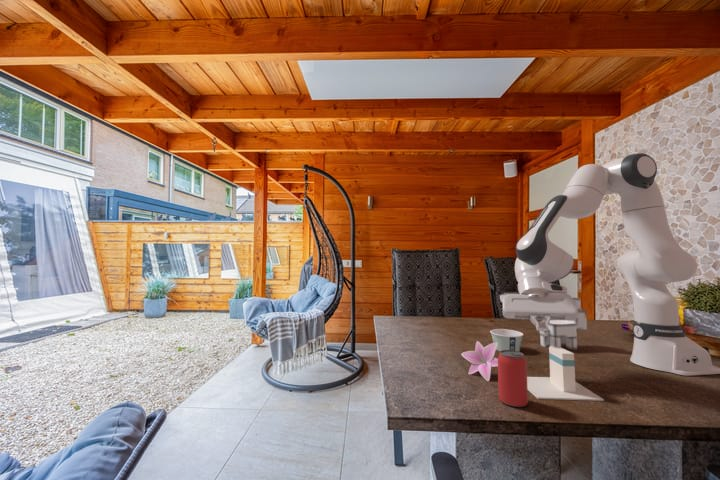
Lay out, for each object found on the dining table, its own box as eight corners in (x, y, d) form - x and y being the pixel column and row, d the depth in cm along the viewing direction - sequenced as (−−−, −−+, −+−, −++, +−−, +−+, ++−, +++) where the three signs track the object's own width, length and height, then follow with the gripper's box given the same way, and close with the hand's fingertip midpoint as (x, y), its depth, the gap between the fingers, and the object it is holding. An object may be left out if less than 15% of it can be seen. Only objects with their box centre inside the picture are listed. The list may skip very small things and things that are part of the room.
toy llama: (535, 345, 126) (533, 296, 127) (571, 343, 129) (569, 295, 130) (549, 351, 118) (547, 299, 120) (587, 348, 122) (585, 298, 123)
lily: (459, 370, 101) (453, 347, 98) (489, 354, 103) (484, 331, 100) (483, 396, 90) (477, 372, 87) (515, 377, 92) (511, 353, 89)
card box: (561, 382, 87) (559, 346, 88) (575, 392, 81) (574, 353, 82) (550, 382, 88) (548, 346, 88) (563, 391, 81) (562, 353, 82)
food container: (486, 344, 128) (486, 328, 128) (516, 345, 126) (515, 329, 127) (496, 353, 116) (495, 335, 116) (529, 354, 115) (528, 336, 115)
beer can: (527, 410, 72) (525, 358, 73) (496, 403, 75) (495, 354, 76) (528, 400, 77) (527, 351, 78) (500, 393, 81) (499, 347, 82)
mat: (569, 379, 91) (569, 377, 91) (603, 400, 77) (603, 399, 77) (513, 377, 92) (513, 376, 92) (537, 399, 78) (537, 397, 78)
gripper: (499, 286, 101) (503, 321, 91) (571, 286, 94) (585, 324, 84) (499, 298, 105) (503, 333, 95) (568, 300, 98) (581, 337, 88)
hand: (542, 329), depth 89 cm, fingers closed
